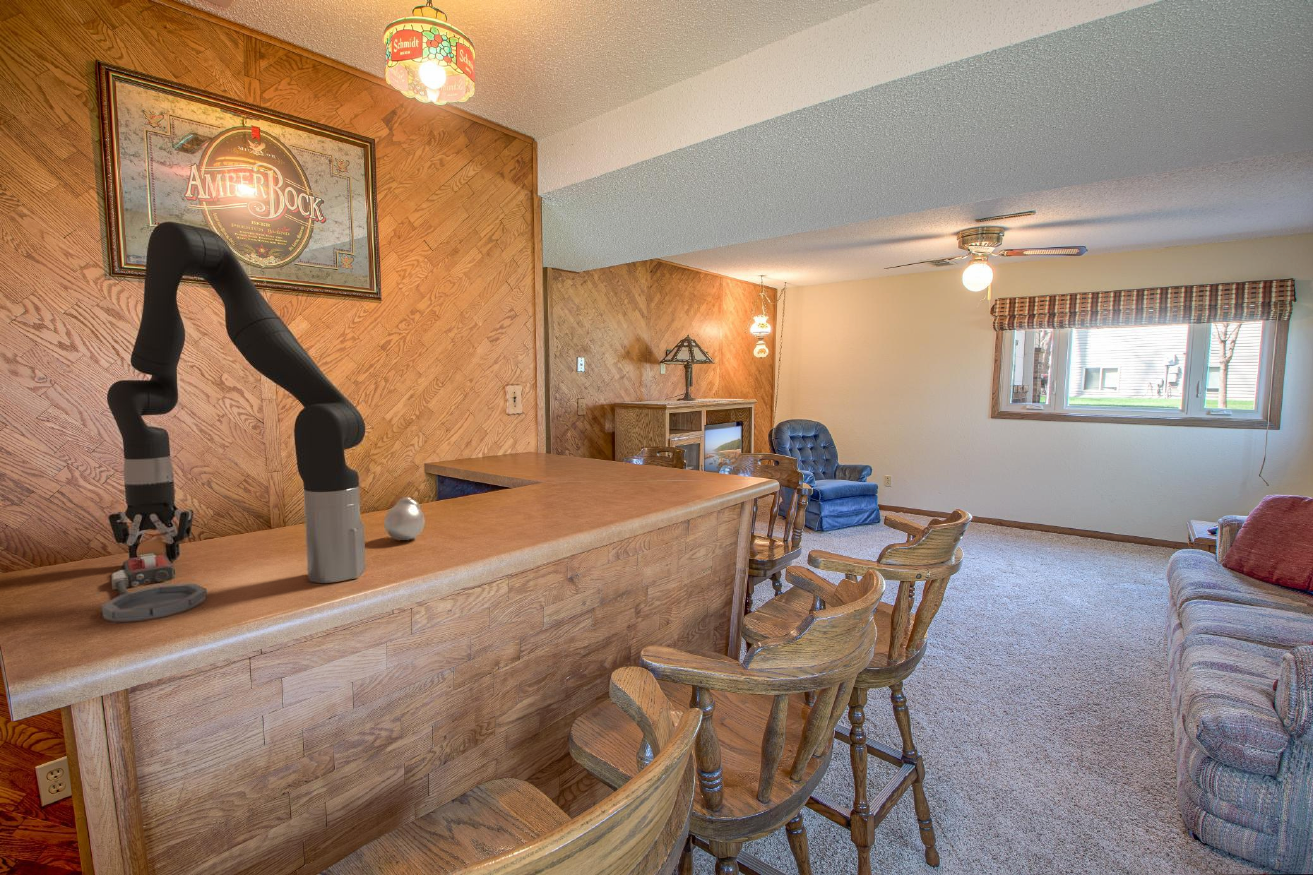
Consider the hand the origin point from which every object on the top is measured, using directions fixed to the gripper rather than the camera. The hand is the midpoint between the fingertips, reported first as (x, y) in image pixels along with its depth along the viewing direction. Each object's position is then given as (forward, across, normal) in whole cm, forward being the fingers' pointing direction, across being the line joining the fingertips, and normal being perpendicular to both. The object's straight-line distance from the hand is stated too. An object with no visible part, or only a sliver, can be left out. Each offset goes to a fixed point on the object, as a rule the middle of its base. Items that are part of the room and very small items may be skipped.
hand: (155, 561), depth 119 cm
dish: (0, +14, -26) cm, 30 cm away
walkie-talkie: (+1, +4, -12) cm, 13 cm away
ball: (-2, 0, 0) cm, 2 cm away
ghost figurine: (+1, +46, +10) cm, 47 cm away
